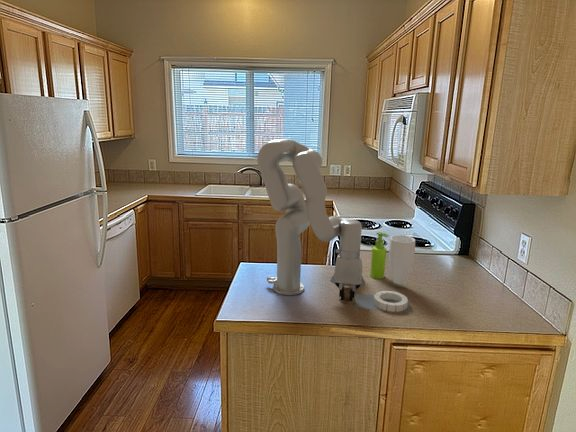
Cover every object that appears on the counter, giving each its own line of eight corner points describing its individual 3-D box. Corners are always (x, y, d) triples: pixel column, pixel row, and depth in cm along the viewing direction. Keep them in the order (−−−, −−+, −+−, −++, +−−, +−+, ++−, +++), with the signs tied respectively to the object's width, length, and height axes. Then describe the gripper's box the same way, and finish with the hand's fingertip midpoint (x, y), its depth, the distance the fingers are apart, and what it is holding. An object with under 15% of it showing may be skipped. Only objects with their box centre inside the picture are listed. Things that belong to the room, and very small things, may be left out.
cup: (393, 295, 159) (398, 243, 153) (380, 284, 168) (384, 235, 163) (416, 292, 161) (421, 241, 156) (402, 282, 171) (407, 234, 166)
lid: (337, 304, 150) (338, 289, 149) (338, 297, 156) (339, 283, 155) (354, 306, 149) (355, 291, 147) (355, 299, 155) (356, 284, 153)
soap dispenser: (380, 280, 172) (383, 236, 167) (367, 275, 178) (370, 232, 172) (388, 277, 176) (392, 233, 171) (376, 272, 181) (379, 230, 176)
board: (354, 310, 146) (354, 307, 146) (355, 295, 158) (355, 293, 157) (411, 316, 142) (411, 313, 142) (408, 301, 154) (408, 298, 154)
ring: (374, 309, 145) (374, 303, 144) (373, 295, 156) (374, 289, 155) (408, 313, 142) (409, 306, 142) (405, 298, 154) (406, 292, 153)
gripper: (326, 254, 146) (324, 300, 150) (372, 258, 142) (368, 305, 147) (328, 248, 153) (326, 292, 157) (372, 252, 150) (368, 297, 154)
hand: (346, 298), depth 152 cm, fingers closed on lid, 3 cm apart
